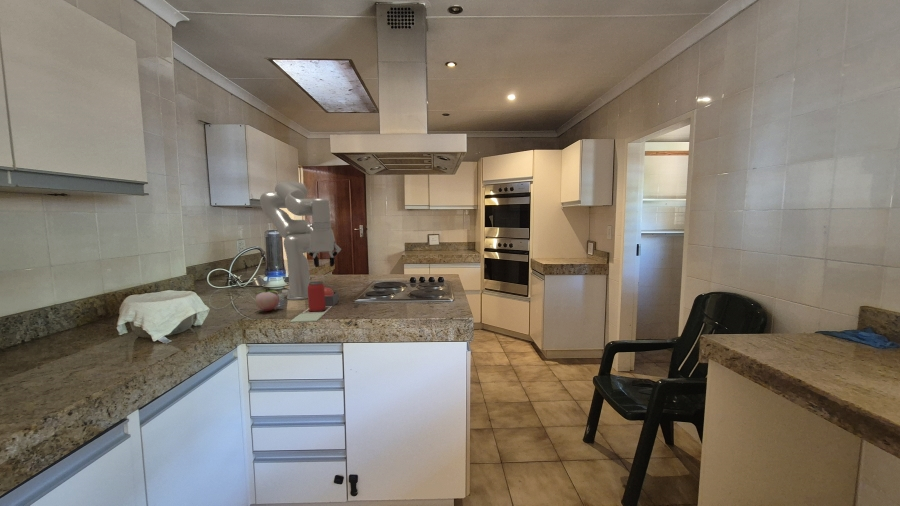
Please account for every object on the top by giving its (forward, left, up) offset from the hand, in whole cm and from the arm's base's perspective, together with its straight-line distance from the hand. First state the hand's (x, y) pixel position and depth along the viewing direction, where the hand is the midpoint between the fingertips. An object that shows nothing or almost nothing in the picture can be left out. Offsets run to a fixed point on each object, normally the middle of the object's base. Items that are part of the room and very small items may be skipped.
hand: (324, 266), depth 151 cm
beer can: (-1, -10, -18) cm, 20 cm away
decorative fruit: (-22, -9, -18) cm, 30 cm away
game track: (-1, -11, -18) cm, 21 cm away
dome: (0, 0, -16) cm, 16 cm away
